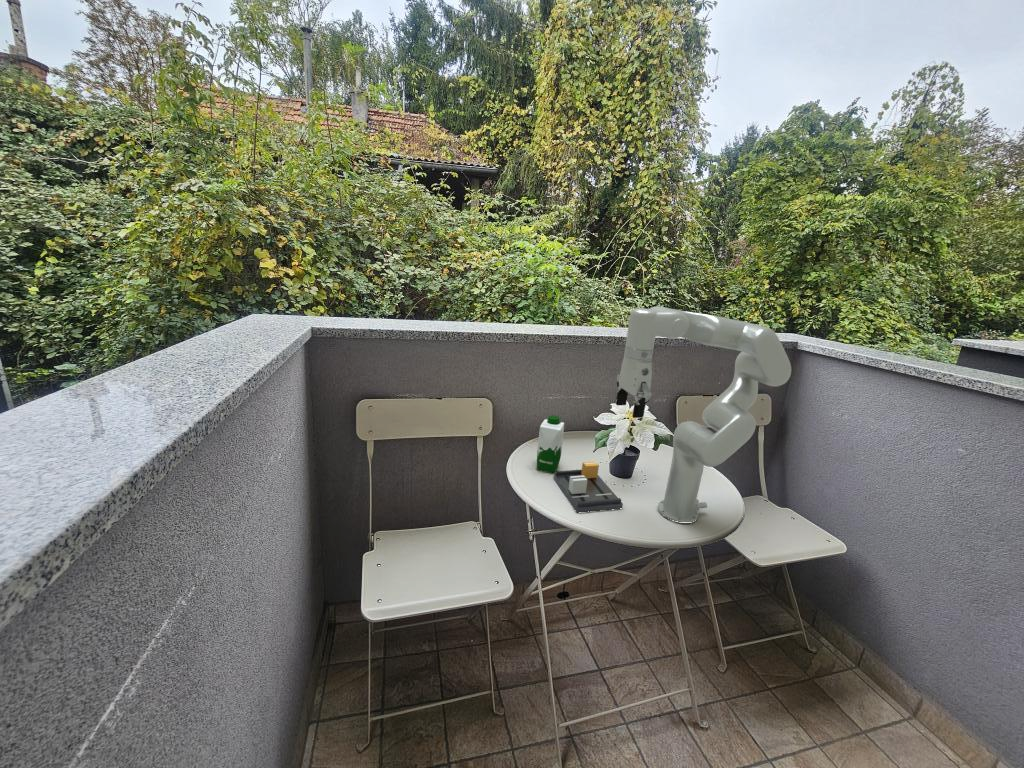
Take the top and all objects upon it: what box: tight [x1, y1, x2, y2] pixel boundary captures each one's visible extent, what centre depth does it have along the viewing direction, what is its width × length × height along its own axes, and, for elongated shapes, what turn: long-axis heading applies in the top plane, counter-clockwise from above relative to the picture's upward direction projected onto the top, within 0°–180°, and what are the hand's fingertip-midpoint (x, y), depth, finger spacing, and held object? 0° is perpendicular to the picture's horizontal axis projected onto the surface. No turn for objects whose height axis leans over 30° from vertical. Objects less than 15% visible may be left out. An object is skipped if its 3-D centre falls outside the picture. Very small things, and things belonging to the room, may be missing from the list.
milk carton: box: [536, 414, 565, 475], centre depth 165 cm, size 9×9×20 cm
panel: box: [553, 469, 624, 514], centre depth 153 cm, size 16×22×3 cm
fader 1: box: [569, 475, 587, 494], centre depth 149 cm, size 5×3×5 cm, turn 105°
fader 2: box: [581, 461, 600, 479], centre depth 159 cm, size 5×3×5 cm, turn 105°
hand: (628, 410), depth 128 cm, fingers open, 9 cm apart
